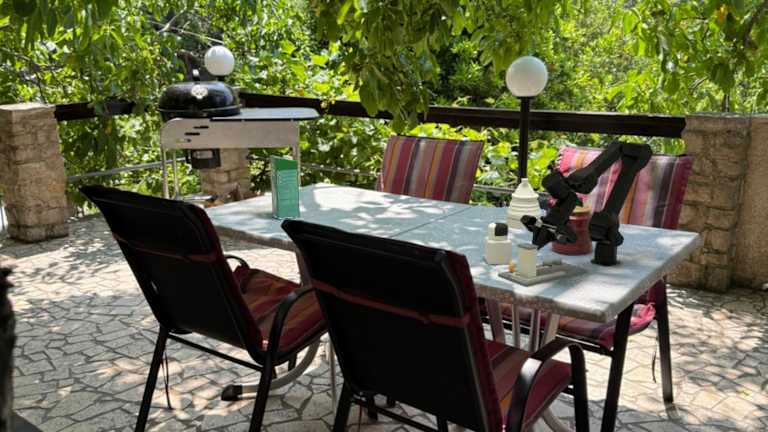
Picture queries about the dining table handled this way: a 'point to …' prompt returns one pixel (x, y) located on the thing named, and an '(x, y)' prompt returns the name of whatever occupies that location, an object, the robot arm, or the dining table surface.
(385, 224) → the dining table surface
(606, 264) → the robot arm
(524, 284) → the console
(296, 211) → the milk carton
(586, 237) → the canister
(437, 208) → the dining table surface
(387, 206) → the dining table surface
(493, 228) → the medicine bottle
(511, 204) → the honey pot
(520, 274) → the fader tab
